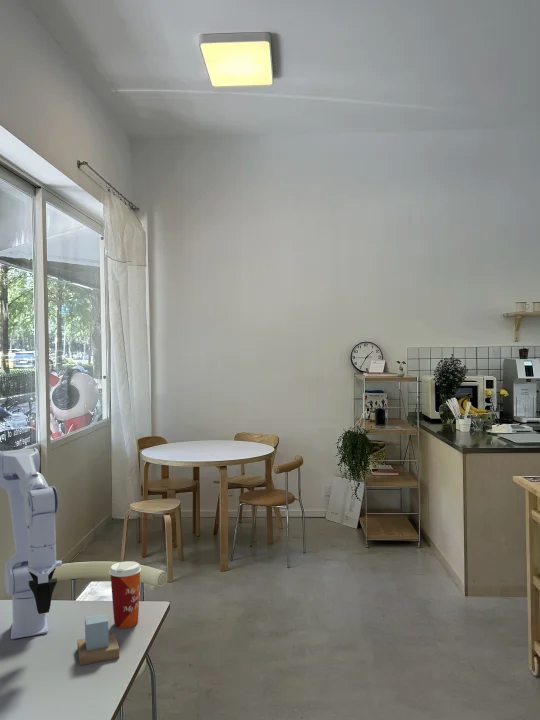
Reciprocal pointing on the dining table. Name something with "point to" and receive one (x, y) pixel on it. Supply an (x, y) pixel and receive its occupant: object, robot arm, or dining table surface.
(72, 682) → the dining table surface
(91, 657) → the base
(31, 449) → the robot arm
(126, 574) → the paper cup
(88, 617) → the block
